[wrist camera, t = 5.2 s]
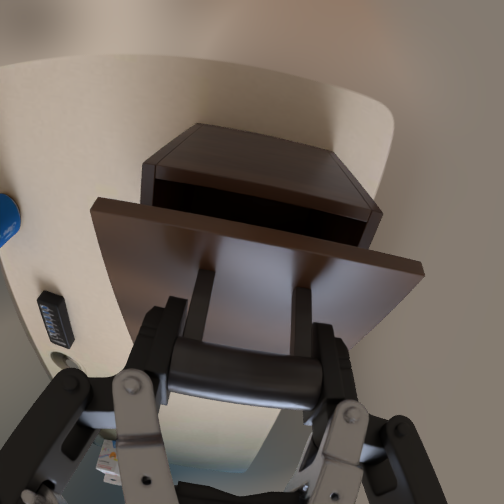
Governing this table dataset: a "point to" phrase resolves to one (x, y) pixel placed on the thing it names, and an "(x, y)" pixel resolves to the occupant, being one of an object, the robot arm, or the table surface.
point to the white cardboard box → (109, 462)
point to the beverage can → (8, 218)
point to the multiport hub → (56, 319)
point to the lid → (245, 298)
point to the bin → (260, 184)
